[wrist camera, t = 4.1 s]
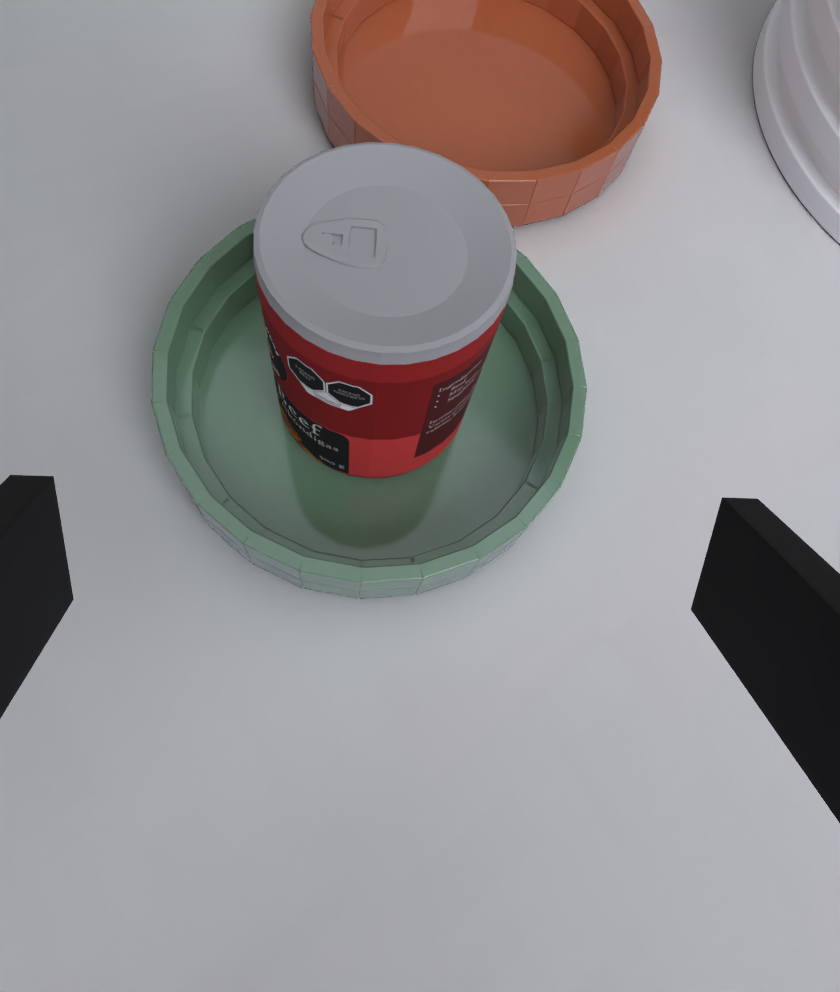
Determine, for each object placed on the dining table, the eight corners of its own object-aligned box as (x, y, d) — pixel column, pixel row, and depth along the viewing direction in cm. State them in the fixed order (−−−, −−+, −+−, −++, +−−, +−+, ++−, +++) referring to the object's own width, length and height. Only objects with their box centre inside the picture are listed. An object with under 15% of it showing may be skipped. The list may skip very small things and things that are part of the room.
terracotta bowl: (279, 189, 36) (273, 134, 32) (350, -52, 41) (351, -118, 38) (622, 262, 36) (649, 216, 33) (645, 16, 42) (670, -44, 39)
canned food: (265, 341, 33) (230, 153, 22) (438, 314, 34) (481, 124, 24) (298, 502, 30) (276, 375, 20) (481, 466, 32) (550, 330, 21)
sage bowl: (118, 554, 29) (90, 531, 26) (229, 210, 35) (217, 156, 32) (538, 635, 30) (562, 621, 27) (579, 284, 36) (603, 239, 32)
